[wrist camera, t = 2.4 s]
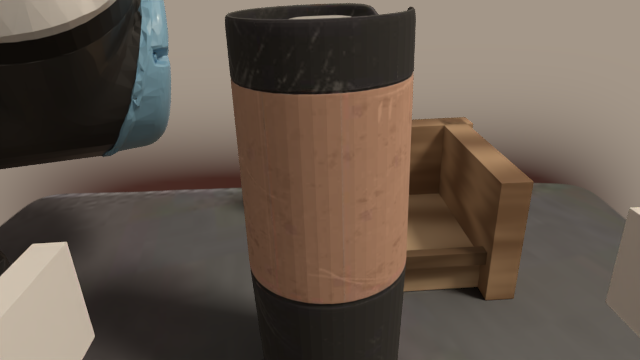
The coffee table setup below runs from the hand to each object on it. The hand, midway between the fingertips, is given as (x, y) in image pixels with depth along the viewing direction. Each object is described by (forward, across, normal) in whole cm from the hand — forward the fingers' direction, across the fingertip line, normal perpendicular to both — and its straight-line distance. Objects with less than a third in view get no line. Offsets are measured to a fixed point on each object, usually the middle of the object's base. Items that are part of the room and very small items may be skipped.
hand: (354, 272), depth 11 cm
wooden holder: (+24, +5, -14) cm, 28 cm away
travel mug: (+10, 0, -15) cm, 18 cm away
